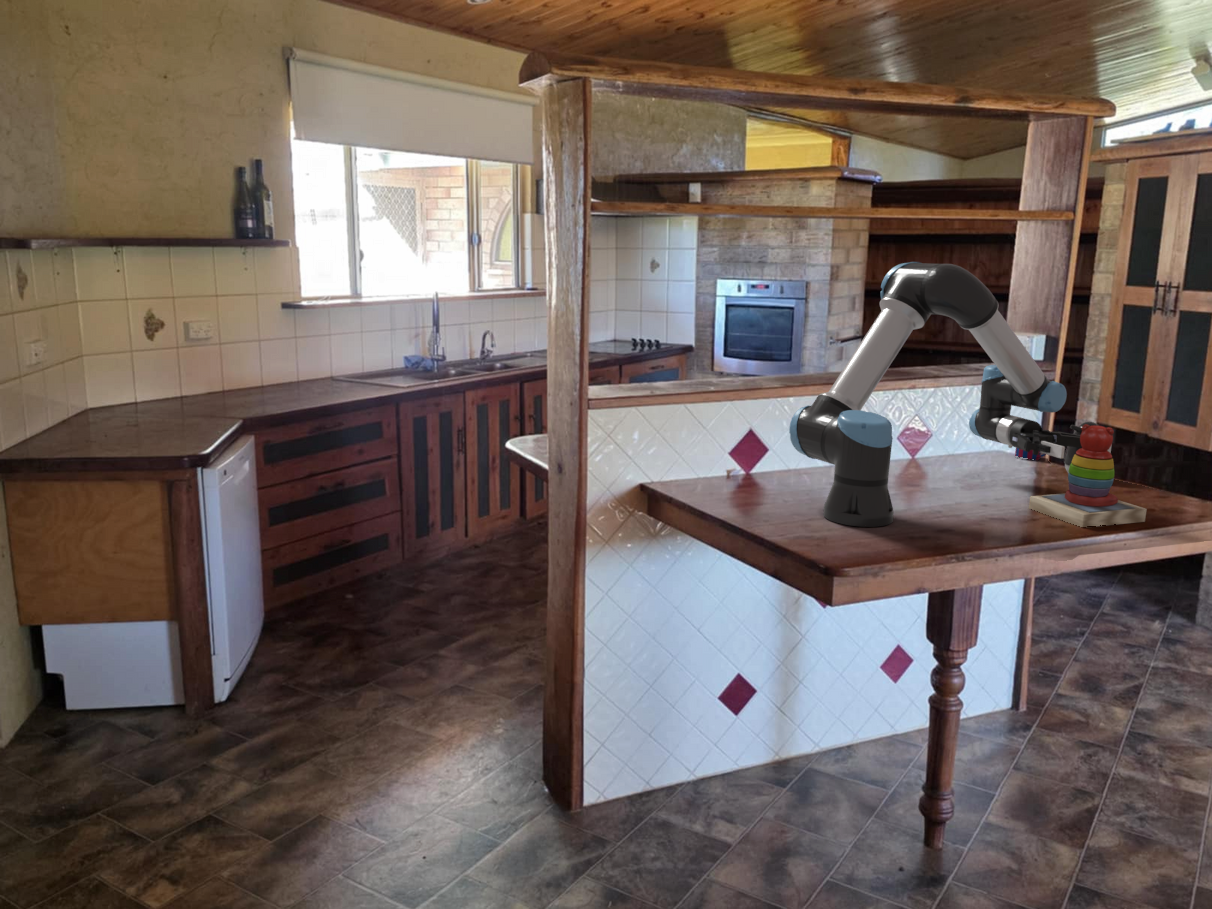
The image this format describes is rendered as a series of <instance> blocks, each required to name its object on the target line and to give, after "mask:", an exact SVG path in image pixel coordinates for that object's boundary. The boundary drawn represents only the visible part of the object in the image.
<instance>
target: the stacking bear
mask: <svg viewBox="0 0 1212 909" xmlns="http://www.w3.org/2000/svg"><path fill="white" fill-rule="evenodd" d="M1081 429H1082V433H1081V435H1080V443H1081V446H1082V448H1080V449H1079V450H1077V451H1076V454H1075V455H1074V457H1073V459H1072V463H1071V464H1070V467H1069V473H1068V472H1067V475H1068V476H1067V479H1068V480H1067V481H1068V489H1067V490H1066V491H1065V492H1064V494H1065V499H1066V500H1068V501H1069V502H1072V503H1075V504H1079V505H1084V506H1093V507H1102V506H1111V505H1114V504H1116V503H1117V502H1118V500H1119V498H1118V496H1117V495H1115V494H1113V493H1110V490H1111V487H1112V486H1113V483H1114V480H1115V465H1114V464H1115V463H1114V462H1115V461H1114V458H1113V455H1112V453H1110V452H1108V451H1107V450H1108V449H1109V448H1110V446H1111V445H1113V441H1114V433H1115V431H1114V429H1113V428H1112V427H1105V426H1102V425H1098V426H1090V425H1087V424H1085V425H1083V426H1082V428H1081Z"/></svg>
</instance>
